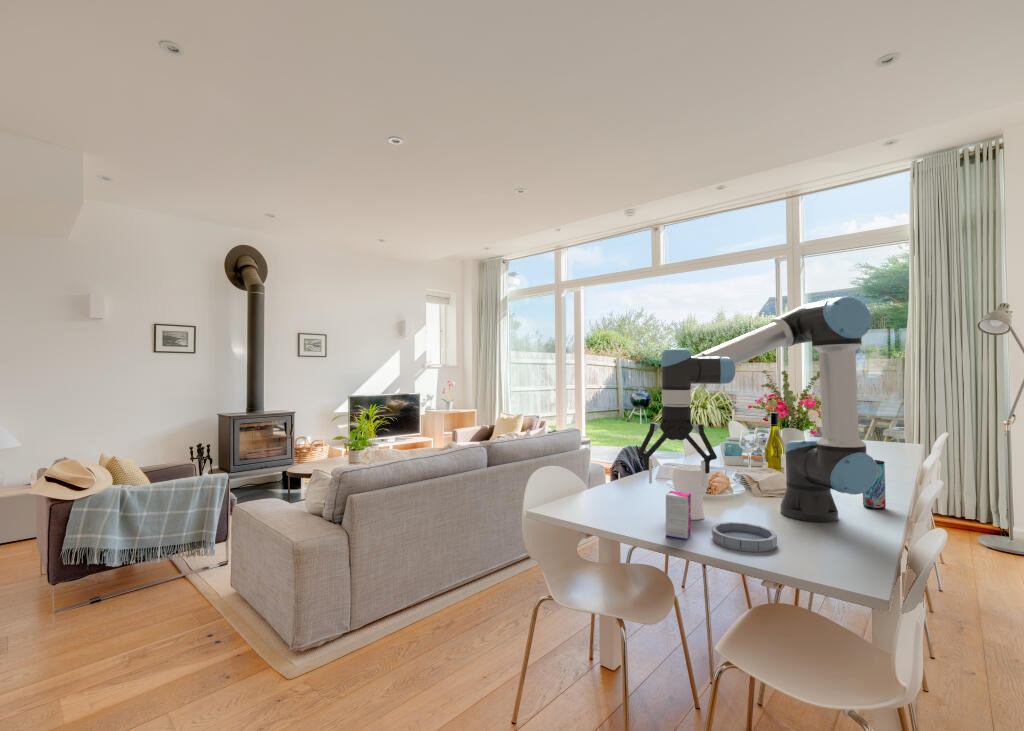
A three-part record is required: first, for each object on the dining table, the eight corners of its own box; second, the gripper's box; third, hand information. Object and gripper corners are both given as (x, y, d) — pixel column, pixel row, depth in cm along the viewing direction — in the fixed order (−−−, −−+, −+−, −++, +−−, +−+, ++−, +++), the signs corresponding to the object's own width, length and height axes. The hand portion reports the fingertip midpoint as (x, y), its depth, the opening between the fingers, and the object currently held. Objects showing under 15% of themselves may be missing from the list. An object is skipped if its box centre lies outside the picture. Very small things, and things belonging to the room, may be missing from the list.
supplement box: (688, 541, 128) (687, 497, 128) (665, 537, 131) (664, 494, 131) (691, 534, 133) (691, 492, 134) (669, 531, 136) (668, 490, 136)
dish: (767, 534, 132) (767, 524, 132) (783, 554, 118) (783, 542, 118) (708, 530, 136) (708, 520, 136) (716, 549, 122) (716, 538, 122)
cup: (712, 522, 144) (711, 471, 144) (675, 520, 146) (674, 470, 146) (705, 512, 154) (705, 464, 155) (670, 510, 156) (670, 463, 157)
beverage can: (863, 508, 157) (862, 461, 157) (862, 504, 162) (861, 458, 162) (886, 511, 153) (885, 463, 154) (885, 506, 158) (883, 460, 159)
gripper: (723, 405, 133) (723, 483, 133) (629, 404, 140) (629, 478, 139) (727, 407, 126) (728, 489, 126) (628, 405, 132) (628, 484, 132)
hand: (676, 484), depth 132 cm, fingers open, 13 cm apart
